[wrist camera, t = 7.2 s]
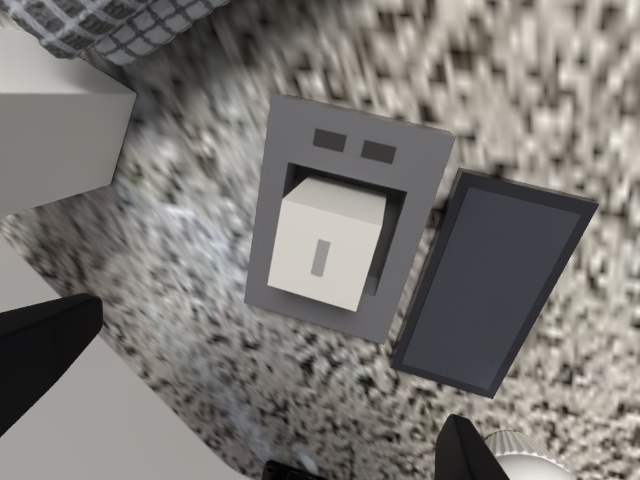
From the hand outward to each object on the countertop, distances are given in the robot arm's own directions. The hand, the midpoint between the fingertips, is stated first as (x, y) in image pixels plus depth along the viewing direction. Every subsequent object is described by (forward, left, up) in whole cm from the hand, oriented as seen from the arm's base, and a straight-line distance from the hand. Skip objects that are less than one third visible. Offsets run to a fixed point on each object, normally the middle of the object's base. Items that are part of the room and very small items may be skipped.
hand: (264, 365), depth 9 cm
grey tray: (0, 0, -12) cm, 12 cm away
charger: (0, 0, -12) cm, 12 cm away
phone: (-2, -8, -12) cm, 15 cm away
